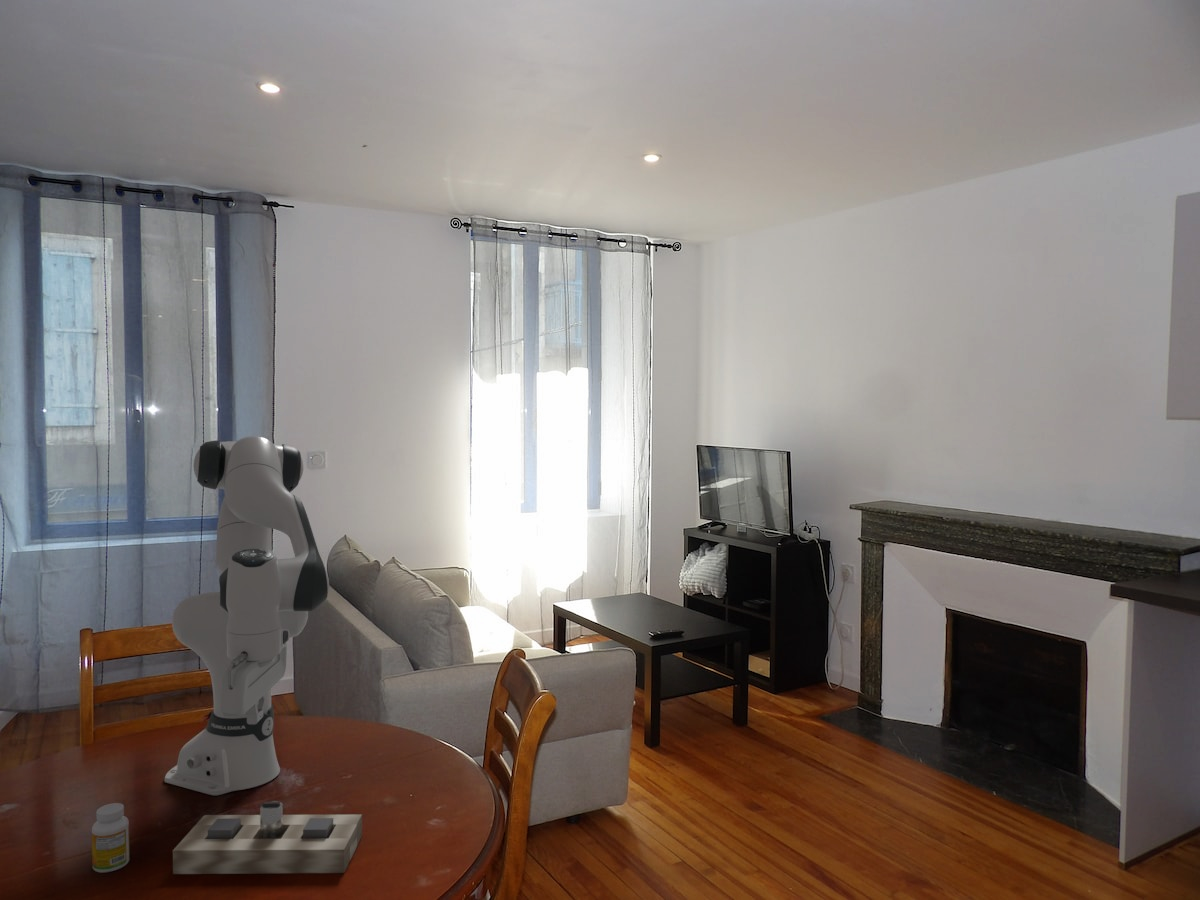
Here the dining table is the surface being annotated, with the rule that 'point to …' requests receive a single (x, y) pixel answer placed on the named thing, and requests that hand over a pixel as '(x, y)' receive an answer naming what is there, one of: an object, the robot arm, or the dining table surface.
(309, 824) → the outer button
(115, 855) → the supplement bottle
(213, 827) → the inner button
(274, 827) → the steel dial
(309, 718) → the dining table surface
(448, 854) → the dining table surface
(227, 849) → the mount
